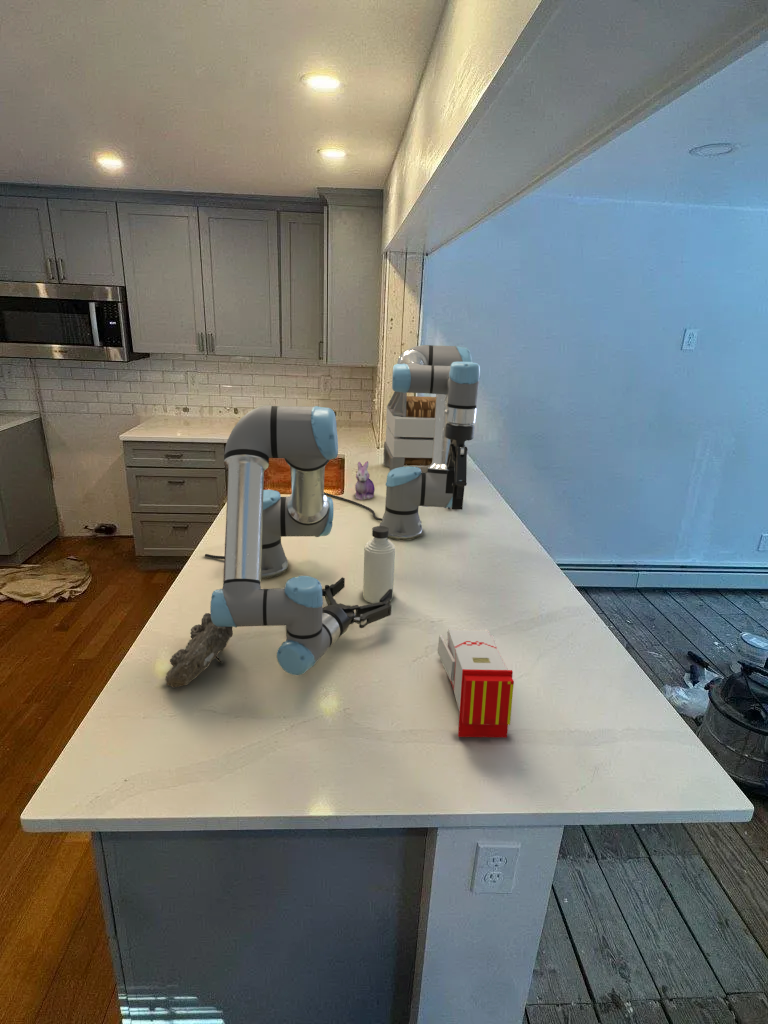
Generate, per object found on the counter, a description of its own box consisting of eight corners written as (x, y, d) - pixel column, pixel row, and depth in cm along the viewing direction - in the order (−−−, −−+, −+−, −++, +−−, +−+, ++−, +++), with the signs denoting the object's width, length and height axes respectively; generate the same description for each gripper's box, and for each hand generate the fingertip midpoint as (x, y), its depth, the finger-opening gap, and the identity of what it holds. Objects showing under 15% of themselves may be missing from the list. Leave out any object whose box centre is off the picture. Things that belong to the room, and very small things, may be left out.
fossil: (188, 616, 134) (233, 586, 129) (216, 643, 137) (261, 615, 132) (144, 681, 114) (195, 649, 109) (178, 711, 117) (230, 682, 112)
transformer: (382, 463, 289) (386, 382, 275) (445, 464, 293) (451, 384, 279) (390, 482, 257) (394, 392, 243) (460, 483, 261) (468, 394, 247)
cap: (375, 531, 152) (375, 525, 152) (391, 533, 151) (391, 527, 150) (369, 536, 149) (369, 530, 148) (385, 539, 147) (385, 533, 147)
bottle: (369, 587, 161) (371, 522, 154) (396, 593, 158) (400, 527, 152) (358, 600, 154) (360, 533, 147) (386, 606, 151) (390, 538, 144)
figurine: (359, 501, 230) (360, 466, 225) (349, 494, 239) (349, 459, 234) (379, 499, 235) (381, 464, 230) (369, 491, 243) (370, 458, 238)
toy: (488, 613, 130) (523, 677, 101) (484, 667, 133) (517, 744, 104) (435, 612, 130) (455, 676, 101) (432, 666, 133) (451, 743, 103)
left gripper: (280, 627, 134) (324, 590, 152) (376, 655, 125) (410, 612, 143) (279, 599, 131) (324, 564, 150) (377, 625, 122) (412, 585, 141)
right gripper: (440, 414, 159) (434, 486, 166) (452, 432, 135) (445, 516, 143) (467, 415, 159) (460, 487, 166) (483, 434, 136) (474, 517, 143)
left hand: (366, 587), depth 147 cm, fingers open, 13 cm apart
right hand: (453, 500), depth 154 cm, fingers open, 13 cm apart
